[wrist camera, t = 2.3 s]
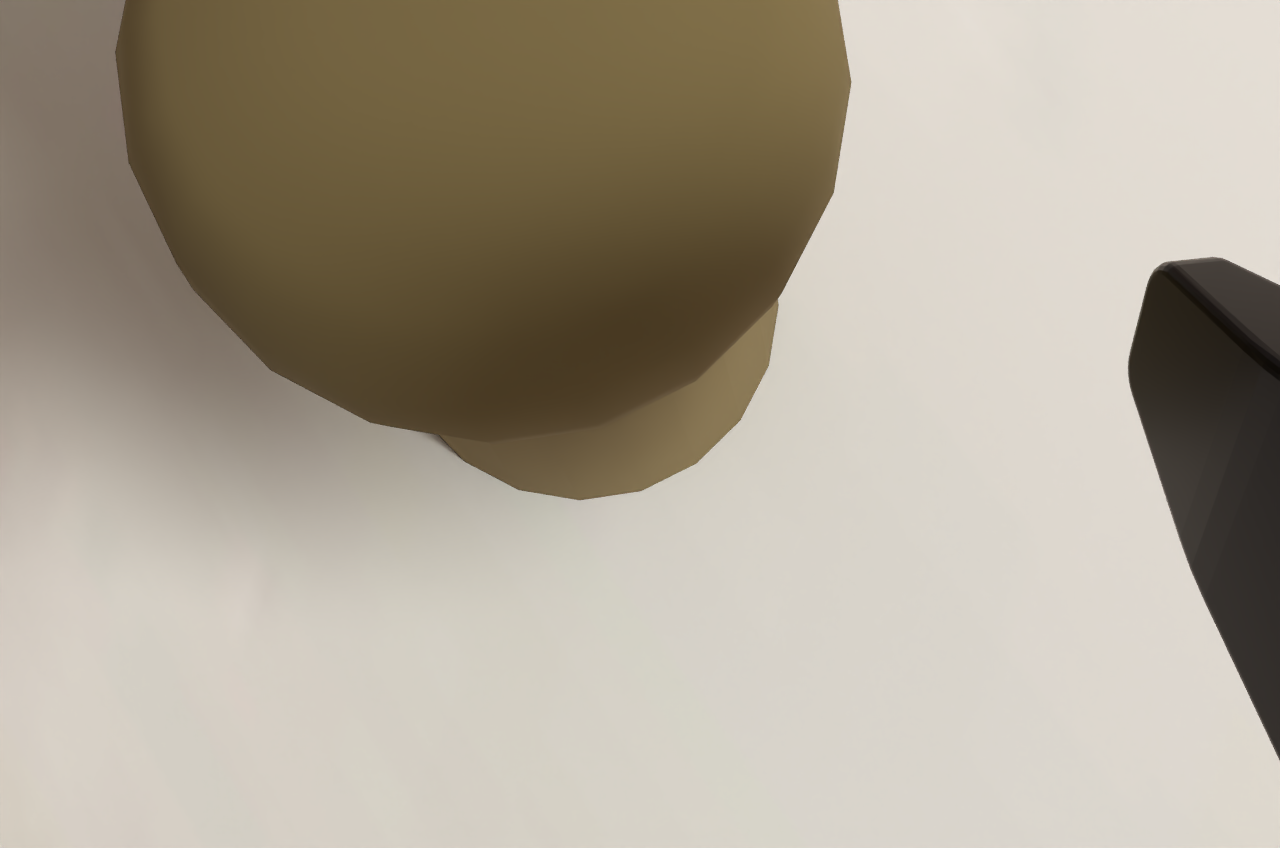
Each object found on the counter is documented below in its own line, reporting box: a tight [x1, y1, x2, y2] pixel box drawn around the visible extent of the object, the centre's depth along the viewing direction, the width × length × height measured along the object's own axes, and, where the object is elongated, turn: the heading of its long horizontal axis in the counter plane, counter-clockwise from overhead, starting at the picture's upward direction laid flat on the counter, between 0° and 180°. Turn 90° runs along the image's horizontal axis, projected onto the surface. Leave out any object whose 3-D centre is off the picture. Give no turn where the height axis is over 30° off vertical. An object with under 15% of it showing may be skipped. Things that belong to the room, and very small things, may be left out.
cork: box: [115, 0, 851, 500], centre depth 12 cm, size 6×6×11 cm
